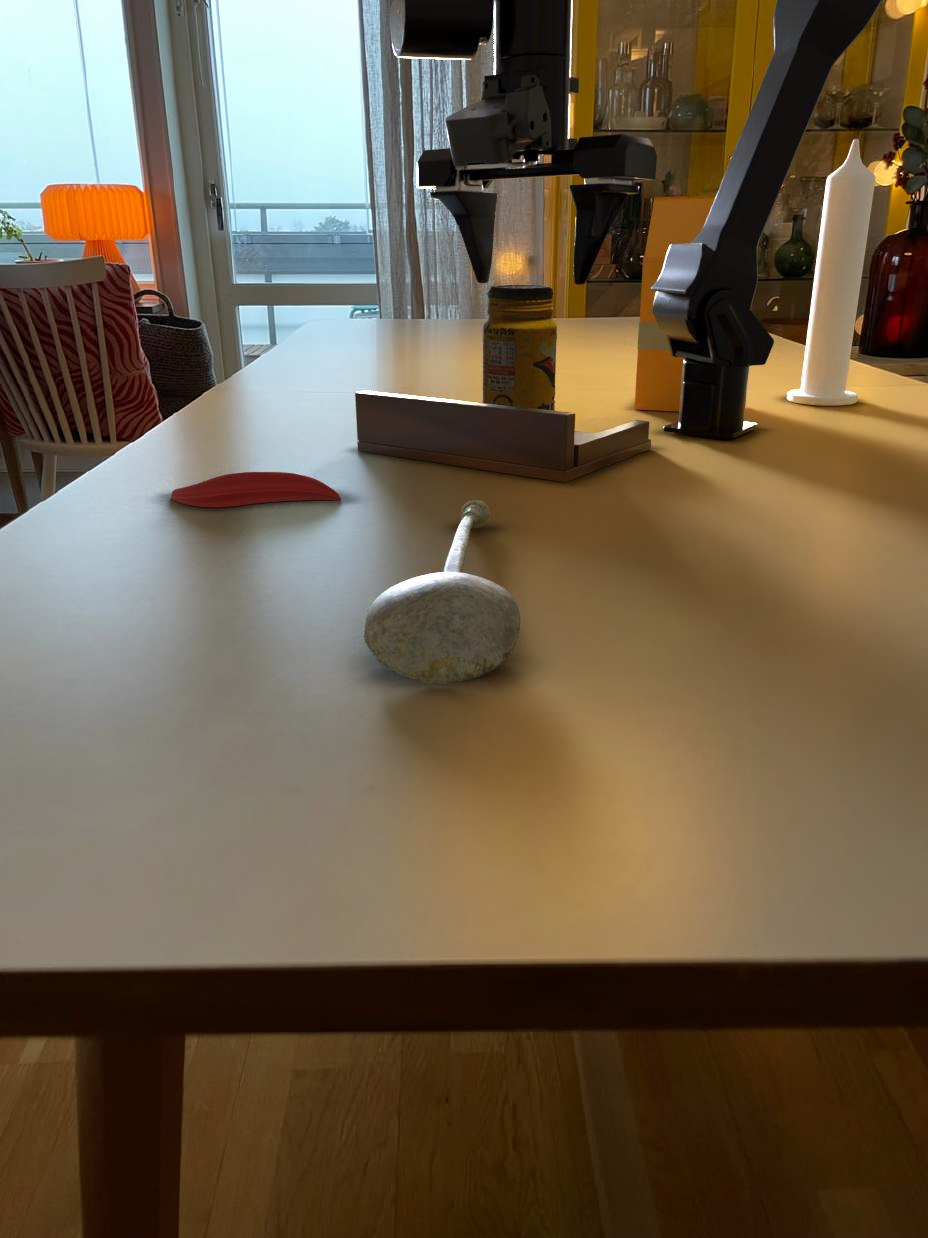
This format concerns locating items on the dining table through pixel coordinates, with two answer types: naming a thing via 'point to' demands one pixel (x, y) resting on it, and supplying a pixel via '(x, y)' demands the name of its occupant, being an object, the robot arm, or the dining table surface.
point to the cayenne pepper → (253, 489)
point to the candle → (837, 284)
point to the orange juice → (654, 362)
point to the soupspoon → (445, 618)
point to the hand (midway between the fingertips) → (529, 283)
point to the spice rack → (491, 436)
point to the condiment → (520, 347)
